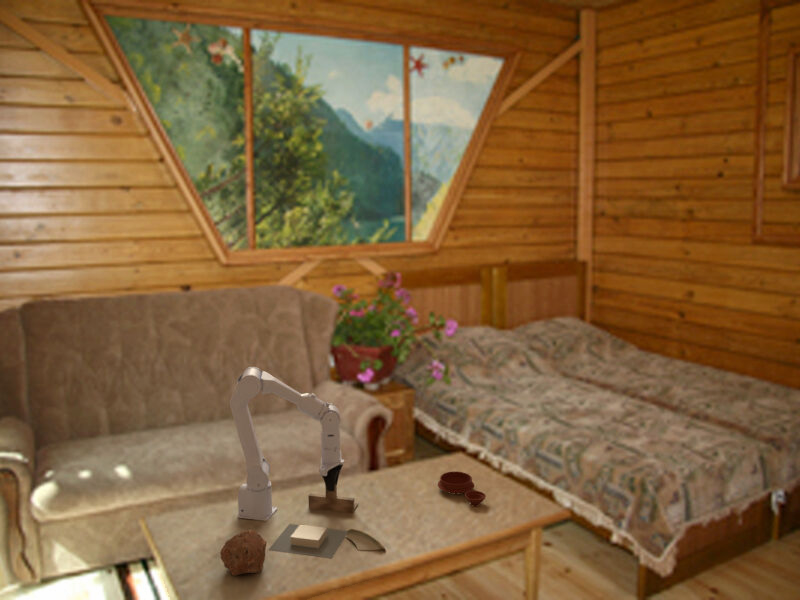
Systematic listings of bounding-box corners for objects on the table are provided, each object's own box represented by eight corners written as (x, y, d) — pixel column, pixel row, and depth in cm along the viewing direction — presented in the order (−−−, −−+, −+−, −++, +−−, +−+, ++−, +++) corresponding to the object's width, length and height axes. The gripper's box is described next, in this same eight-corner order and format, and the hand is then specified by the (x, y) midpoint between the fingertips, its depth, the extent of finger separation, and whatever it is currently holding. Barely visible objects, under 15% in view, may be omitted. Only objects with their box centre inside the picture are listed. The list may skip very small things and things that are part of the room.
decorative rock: (256, 586, 176) (254, 548, 174) (213, 581, 178) (211, 544, 176) (274, 558, 189) (273, 523, 187) (234, 554, 191) (232, 519, 189)
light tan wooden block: (300, 532, 201) (290, 545, 195) (300, 524, 201) (290, 536, 194) (327, 536, 200) (318, 548, 193) (327, 527, 199) (318, 540, 192)
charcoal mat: (268, 550, 192) (268, 550, 192) (289, 524, 207) (289, 523, 207) (331, 559, 188) (331, 558, 188) (348, 531, 203) (348, 530, 203)
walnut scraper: (308, 508, 217) (308, 483, 215) (315, 500, 222) (314, 475, 220) (352, 513, 213) (352, 487, 212) (358, 505, 219) (357, 480, 217)
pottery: (461, 480, 237) (461, 467, 236) (496, 504, 219) (497, 491, 218) (430, 487, 231) (430, 474, 230) (464, 513, 214) (464, 499, 213)
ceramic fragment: (386, 551, 192) (386, 538, 192) (373, 559, 189) (373, 546, 188) (349, 536, 201) (348, 523, 201) (336, 543, 197) (335, 530, 197)
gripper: (335, 456, 204) (336, 500, 207) (351, 438, 218) (351, 480, 220) (312, 454, 206) (313, 498, 208) (329, 436, 220) (329, 478, 222)
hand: (331, 488), depth 214 cm, fingers closed on walnut scraper
